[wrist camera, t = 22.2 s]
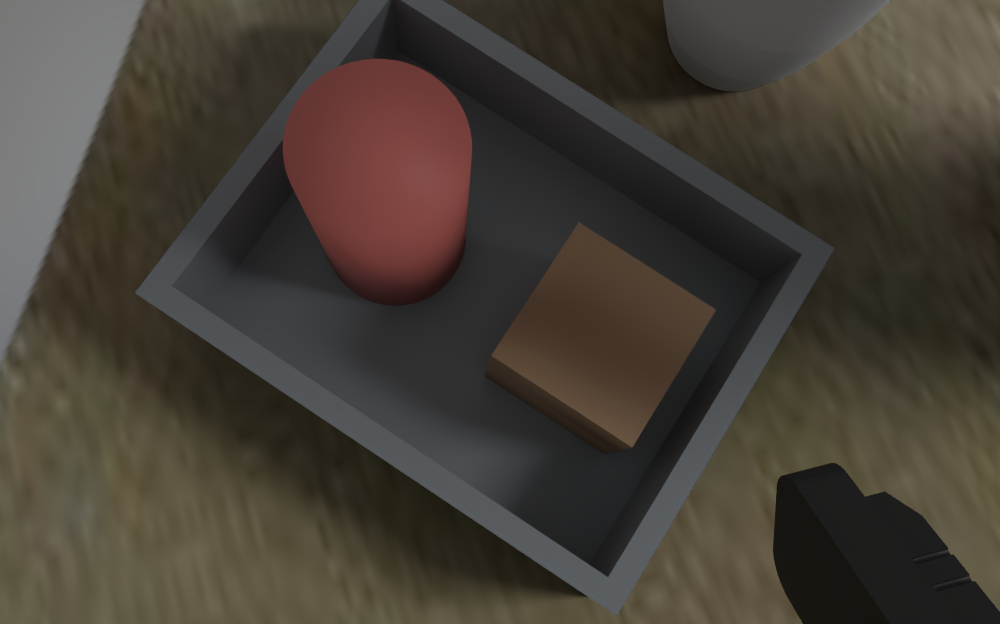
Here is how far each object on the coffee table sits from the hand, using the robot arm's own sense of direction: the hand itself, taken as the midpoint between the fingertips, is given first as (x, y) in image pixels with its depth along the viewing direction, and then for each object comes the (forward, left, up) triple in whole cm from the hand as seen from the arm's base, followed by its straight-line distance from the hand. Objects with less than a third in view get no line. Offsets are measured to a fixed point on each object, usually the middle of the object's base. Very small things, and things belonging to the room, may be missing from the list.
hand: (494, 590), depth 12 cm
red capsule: (-7, -8, -20) cm, 22 cm away
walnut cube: (-7, 0, -20) cm, 21 cm away
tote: (-7, -4, -21) cm, 22 cm away
